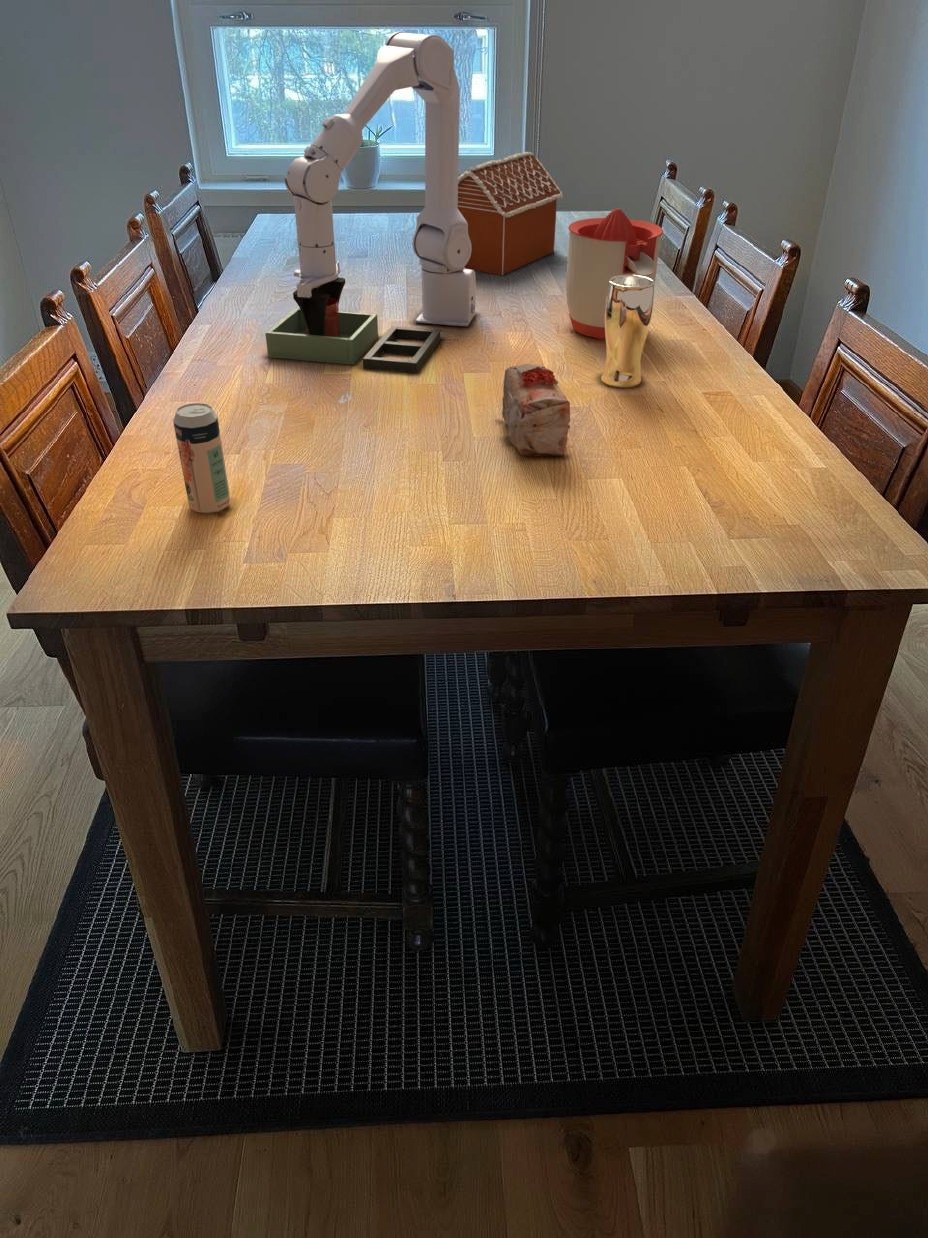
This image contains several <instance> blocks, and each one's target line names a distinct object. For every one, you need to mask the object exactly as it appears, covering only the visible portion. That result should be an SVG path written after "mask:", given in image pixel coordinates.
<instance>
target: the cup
mask: <svg viewBox="0 0 928 1238" xmlns="http://www.w3.org/2000/svg"><path fill="white" fill-rule="evenodd" d="M339 311H340V309H339V305H338V300H337V299H335V298H331V297H329V299H328V302H327V306H326V311H325V329H324V335H323V336H329V337H341V336H340V322H339ZM305 322H306V321H305ZM306 332H307V335H310V333H309V331H308V328H307V324H306Z"/></svg>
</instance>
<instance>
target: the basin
mask: <svg viewBox="0 0 928 1238" xmlns="http://www.w3.org/2000/svg"><path fill="white" fill-rule="evenodd" d="M339 322H340V336H341V337H329V336H317V335H307V332H306V322H305V319H304V316H303V313H302V311H301V309H300V307H295V308H294V309H292V310H291V311H290V312H289V313H287V315H286V316H284V317H283V318H282V319H280V320H279V321H278V322H276V324H274V325H273V326H272V327H271V328H269V329H268V330H266V332H265V333H264V334H265V341H266V343H265V344H266V350H267V358H272V359H282V360H283V359H284V360H285V359H286V360H294V361H295V360H296V361H306V362H319V363H330V364H331V363H332V364H343V365H350V366H351V365H355V364H356V363H357V362H358V361H359V360H360V359H361V357H362V356H364V354H365V353H366V352H367V351H368V349H370V347H371V346H372V345H373V344H374V343H375V342H376V341H377V339H379V324H378V323H379V321H378V314H377V313H368V312H367V313H366V312H355V311H342V310H339Z"/></svg>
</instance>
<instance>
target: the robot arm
mask: <svg viewBox="0 0 928 1238" xmlns="http://www.w3.org/2000/svg"><path fill="white" fill-rule="evenodd" d="M408 88H411V89H412V90H414V92H415V93H416V94H417V95H418V96H419V97H420V99H422V100H423V101H424V111H425V112H424V117H425V118H424V135H425V136H424V144H425V145H424V159H425V160H424V161H425V162H424V169H425V170H424V208H423V209H422V211H420V212H419V213H418V214H417V216H416V225H415V231H414V234H413V236H412V241H411V245H412V250H413V253H414V254H415V256H416V257H417V258H418V260H419V265H420V267H421V313H420V314H419V315H418V316H417V318H415V323H417V324H429V325H443V326H452V327H453V326H455V327H468V326H469V325H470V323H471V322H472V321H473V319H474V317H475V316H476V314H477V311H476V295H477V294H476V290H477V289H476V287H477V286H476V285H477V282H476V281H477V279H476V272H475V271H476V270H472V269H466V268H465V265H466V264H467V262H468V261H469V259H470V256H471V251H472V246H471V241H470V238H469V235H468V223H467V221H466V220H465V219H464V217H463V216H462V214H461V213H460V211H459V210H458V208H457V207H458V177H459V158H460V157H459V154H460V153H459V152H460V149H459V148H460V105H461V103H460V101H461V100H460V99H461V90H460V88H461V87H460V83H459V80H458V77H457V74H456V70H455V51H454V49H453V48H452V47H451V46H450V44H448V42H447V41H446V40H445V39H444V38H443V37H442V36H440V35H438V34H434V33H433V34H432V33H431V34H423V33H422V34H421V33H410V32H405V31H401V30H399V31H395V32H393V33H392V34H390V36H388V38H387V40H386V41H385V43H384V45H382V46H381V47H380V48H379V49H378V51H377V54H376V59H375V63H374V65H373V66H372V68H371V69H370V70H369V73H368V74H367V76H366V78H365V79H364V81H363V82H362V84H361V86H360V87H359V89H358V90H357V92H356V94H355V95H354V97H353V98H352V100H351V101H350V103H349V104H348V106H347V107H346V109H345V111H344V113H341V114H339V113H338V114H337V113H336V114H335V113H334V114H332V115H331V117H330V118H329V117H326V118H325V119H324V120H323V121H322V123H321V126H322V128H321V130H320V132H319V133H318V134H317V136H316V137H315V138H314V140H313V141H312V142H311V144H310V146H308V145H307V146H306V148H305V149H304V151H303V152H304V155H303V156H299V158H298V157H296V158H295V159H293V160H292V161H291V163H290V164H289V166H288V168H287V172H286V176H285V177H284V178H283V181H284V185H285V188H286V189H287V191H288V193H289V194H290V196H291V197H292V202H293V207H294V217H295V228H296V238H297V247H298V249H297V250H298V259H299V260H298V261H299V268H297V269H295V270H294V271H293V277H296V278H298V282H297V283H296V289H295V290H294V291H293V292H292V298H293V300H294V302H295V303H296V305H297V306H298V308H300V309H301V311H302V313H303V316H304V319H305V321H306V324H307V328H308V331H309V333H310V335H317V336H323V335H324V329H325V311H326V306H327V302H328V299H329V297H331V298H335V299H337V300H338V306H340V305H339V304H340V299H341V295H342V293H343V290H344V287H345V285H346V279H345V278H344V277H339V274H340V273H341V268H340V267H341V266H340V261H338V260H337V257H336V243H335V230H334V229H335V228H334V215H333V213H334V212H333V198H334V197H335V196H336V195H337V193H338V191H339V186H340V177H341V176H342V172H343V171H344V170H345V169H346V168H347V166H348V164H349V163H350V162H351V160H352V159H353V157H354V156H355V155H356V153H357V152H358V150H359V149H360V147H361V146H363V142H364V139H363V130H364V128H365V127H366V126H367V125H368V124H369V122H371V120H372V119H373V118H374V116H375V115H376V114H377V113H378V111H379V110H380V109H381V108H382V107H383V105H384V104H385V103H386V102H387V101H388V99H389V98H390V97H391V96H392V94H393V93H394V92H396V91H397V90H402V89H408Z"/></svg>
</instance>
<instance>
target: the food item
mask: <svg viewBox="0 0 928 1238" xmlns="http://www.w3.org/2000/svg"><path fill="white" fill-rule="evenodd" d="M554 372H555V371H552V370H550V369H549V368H547V367H545V366H543V365H539V364H538V365H537V364H532V363H531V364H530V363H529V364H528V363H525V364H520V365H515V366H510V367H507V368H506V369H505V370H504V376H503V377H504V378H503V385H502V386H503V387H502V391H503V396H502V412H501V413H502V414H501V415H502V418H503V420H504V422H505V424H506V425H507V430H508V434H507V435H508V442H510V443H511V444H512V445H513V446H514V447H515V448H516V449H517V450H518V454H519V455H520V456H528V457H556V456H557V457H558V456H564V454H565V452H566V448H567V442H568V435H569V430H570V429H571V425H570V422H571V402H570V401H569V400H568V398H567V396H566V395H565V393H564V391H563V390H562V389H561V388H560V386H559V385H558V384H559V380H557V378H555V375H554Z"/></svg>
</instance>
